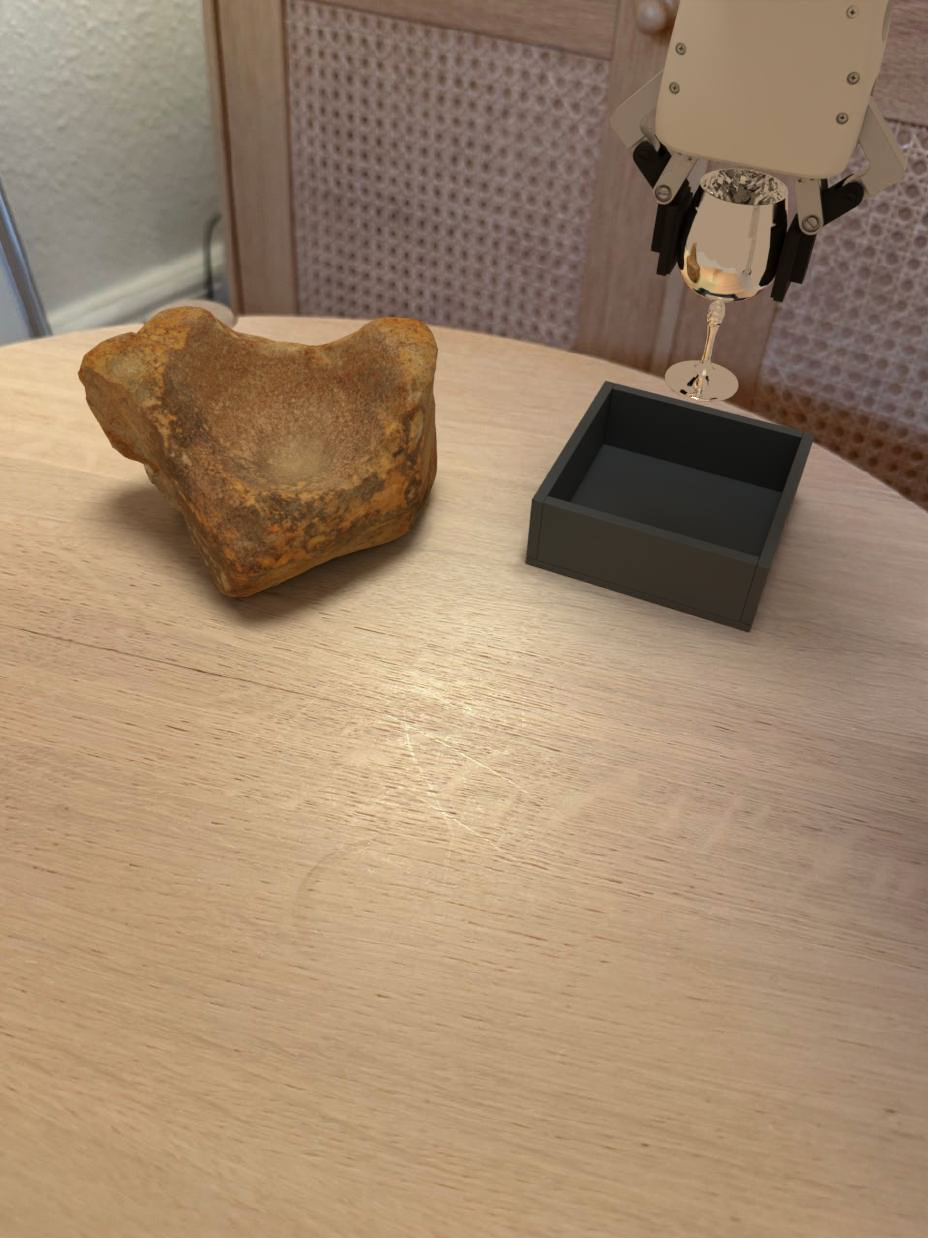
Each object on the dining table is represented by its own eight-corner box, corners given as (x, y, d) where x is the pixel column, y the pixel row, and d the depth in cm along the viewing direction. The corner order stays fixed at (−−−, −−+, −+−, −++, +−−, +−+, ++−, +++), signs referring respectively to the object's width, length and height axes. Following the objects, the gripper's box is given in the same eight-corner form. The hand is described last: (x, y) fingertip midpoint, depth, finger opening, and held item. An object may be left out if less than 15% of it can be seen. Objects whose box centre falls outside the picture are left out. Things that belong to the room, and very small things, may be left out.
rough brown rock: (93, 645, 68) (42, 467, 57) (112, 468, 79) (72, 287, 67) (457, 625, 72) (478, 453, 60) (428, 458, 82) (441, 285, 71)
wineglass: (715, 419, 63) (762, 220, 54) (635, 381, 66) (668, 185, 57) (767, 381, 66) (819, 187, 58) (688, 345, 69) (727, 155, 60)
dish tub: (795, 496, 80) (815, 433, 76) (749, 632, 70) (769, 568, 66) (596, 441, 84) (605, 379, 80) (525, 563, 74) (531, 498, 70)
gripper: (1012, -89, 49) (887, 282, 61) (644, -136, 53) (599, 220, 66) (1002, -51, 44) (869, 345, 56) (597, -106, 48) (558, 273, 61)
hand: (724, 275), depth 61 cm, fingers closed on wineglass, 5 cm apart
